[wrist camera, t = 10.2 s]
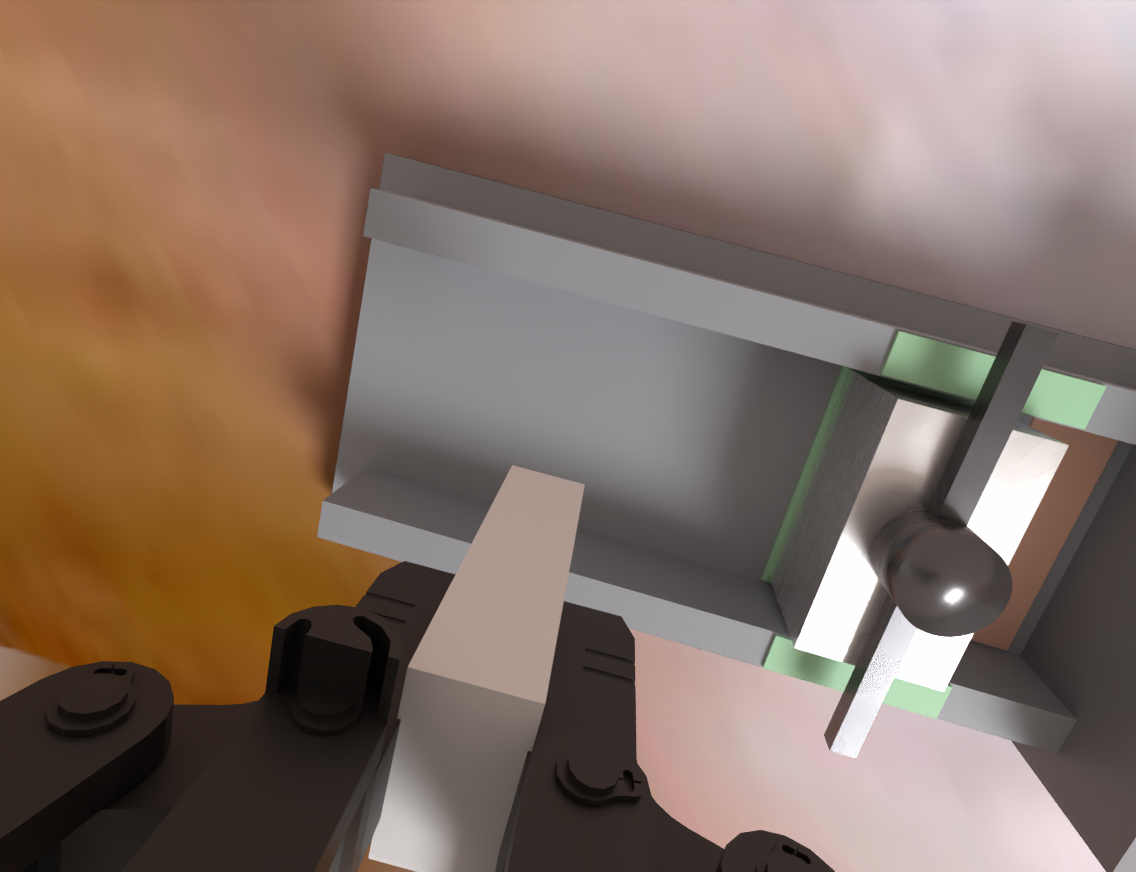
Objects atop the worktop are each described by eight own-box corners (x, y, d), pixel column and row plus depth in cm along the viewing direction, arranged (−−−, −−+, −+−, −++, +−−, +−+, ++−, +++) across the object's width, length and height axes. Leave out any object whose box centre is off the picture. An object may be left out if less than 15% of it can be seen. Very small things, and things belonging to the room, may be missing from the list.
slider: (745, 636, 22) (776, 766, 16) (879, 290, 19) (975, 309, 13) (864, 670, 22) (935, 814, 16) (1021, 327, 18) (1179, 362, 13)
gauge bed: (343, 505, 24) (219, 608, 17) (399, 157, 20) (272, 112, 14) (1059, 713, 23) (1234, 914, 16) (1251, 381, 19) (1582, 457, 12)
